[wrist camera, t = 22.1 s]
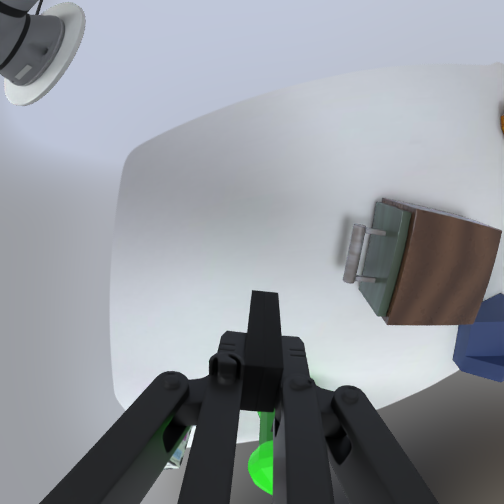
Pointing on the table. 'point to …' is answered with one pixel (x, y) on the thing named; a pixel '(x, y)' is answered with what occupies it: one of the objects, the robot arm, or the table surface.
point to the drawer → (379, 255)
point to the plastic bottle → (263, 454)
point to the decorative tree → (502, 123)
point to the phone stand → (483, 342)
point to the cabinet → (442, 268)
